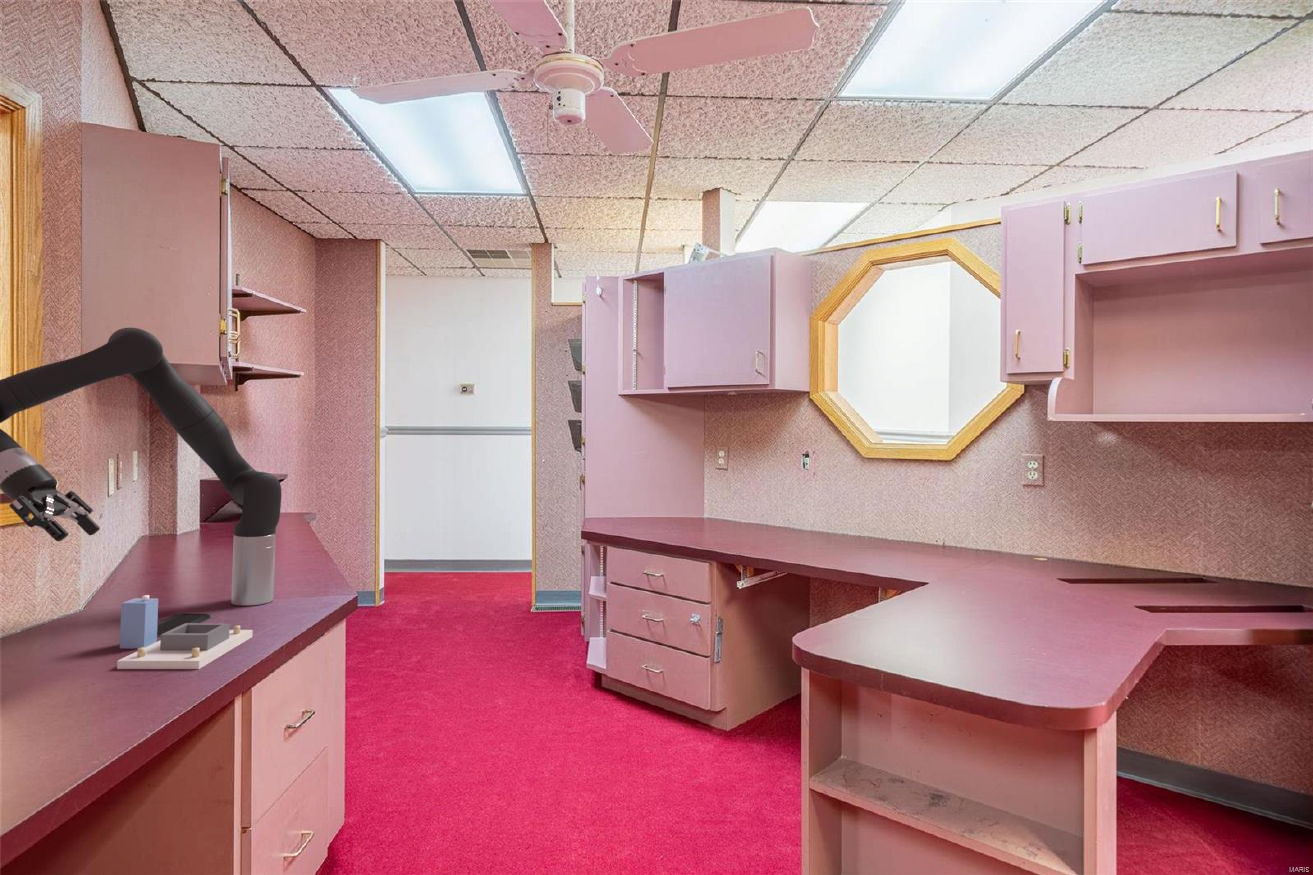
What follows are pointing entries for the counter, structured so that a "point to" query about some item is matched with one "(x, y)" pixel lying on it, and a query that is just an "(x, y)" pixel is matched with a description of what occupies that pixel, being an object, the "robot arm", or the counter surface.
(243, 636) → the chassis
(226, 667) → the counter surface
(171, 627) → the phone
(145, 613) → the block
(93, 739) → the counter surface
